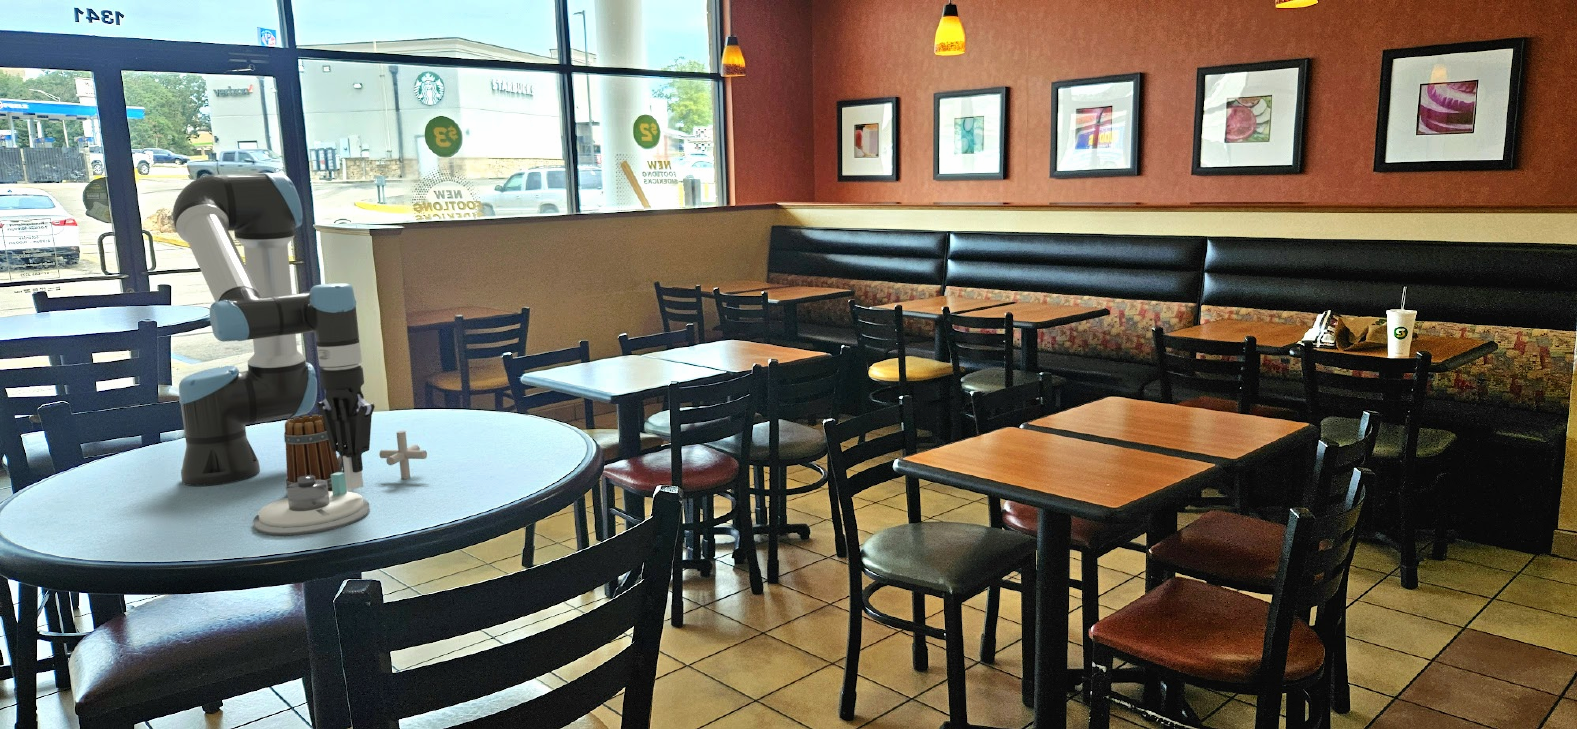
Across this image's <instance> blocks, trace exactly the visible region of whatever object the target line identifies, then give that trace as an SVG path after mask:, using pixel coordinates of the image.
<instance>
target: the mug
mask: <svg viewBox="0 0 1577 729" xmlns="http://www.w3.org/2000/svg"><path fill="white" fill-rule="evenodd" d="M283 437H284V438H283V439H284V443H285V456H286V457H285V458H286V461H285V462H286V482H285V483H286V487H287V486H289V485H291V484H293V483H296V482H298V480H297V478H298V477H300V476H304V475H314V476H315V480H325V481H327V484H328V491H332V483H331V474H334V473H337V472H341V473H345V472H344V471H343V467H342V459H341V455H339V454H338V456H337V451H335V452H334V451H332V449H331V445H330V442H329V438H328V435H327V431H326V428H325V424H324V421H323V418H322V414H321V415H320V414H313V415H311V416H310V415H301V417H300V416H295V417H293V418H288V419H286V421H285V423H284V434H283Z"/></svg>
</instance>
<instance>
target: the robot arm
mask: <svg viewBox="0 0 1577 729" xmlns="http://www.w3.org/2000/svg"><path fill="white" fill-rule="evenodd" d="M303 217H304V216H303V206H302V203H301V199H300V196H299V193H298V191H297V188H296V187H295V184H294V183H293V181H292V180H291V179H290V177H288V176H287V175H285V174H283V173H277V172H276V173H273V172H272V173H271V172H256V173H255V172H254V173H233V174H208V175H204V176H201V177H198V178H196V179H194V180H192V181H191V182H190V183H189V184H187V185H186V186H185V187H184V188H183V189H182V190H181V192H179V194H178V195H177V198H176V199H175V202H174V204H173V208H172V222H173V225H174V229H175V230H176V233H177V234H178V236H179V237H180V238H181V240H183V241H184V242H186V243H188V245H189V248H190V250H191V252H192V254H193V256H194V258H195V261H196V263H197V265H198V267H199V269H200V271H201V274H202V276H203V278H204V280H205V282H206V283H205V284H206V285H207V287H208V289H209V291H210V294H211V296H212V297H213V300H214V302H213V303H211V305H210V306H209V321H210V323H209V324H210V326H211V329H212V334H213V336H214V337H215V338H216V339H217V341H220V342H223V343H224V342H235V341H237V342H244V341H250V340H252V341H253V342H252V343H253V352H254V353H253V355H252V356H251V357H250V358H249V359H248V360H247V368H248V369H247V370H243V371H240V370H239V369H238V367H237V366H235V365H225V366H221V367H220V366H218V367H212V368H207V369H203V370H201V371H197V372H194V373H191V374H189V375H187V376H185V377H183V378H182V379H181V380H180V382H179V384H178V394H179V399H178V401H179V402H178V403H179V404H180V408H181V409H180V410H181V417H182V423H183V431H184V438H185V444H186V446H185V452H184V457H183V461H182V462H183V463H182V467H181V470H180V477H181V482H182V484H183V485H186V486H196V487H197V486H199V487H201V486H203V487H204V486H213V485H214V486H215V485H223V484H228V483H234V482H238V481H242V480H245V479H249V478H251V477H254V476H255V475H257V474H259V473H260V471H261V468H260V461H259V459H258V457H257V455H256V453H255V451H254V449H253V447H252V445H251V443H250V442H249V440H248V436H247V430H246V425H251V424H258V423H264V422H270V421H277V420H282V419H283V420H284V419H293V418H295V417H300V416H305V415H307V414H308V413H310V412H312V410H313V408H314V406H315V404H316V407H317V409H318V411H319V412H320V414H321V415H322V418H323V421H324V424H325V428H326V431H327V435H328V438H329V442H330V445H331V449H332V451H334V452H335V451H336V453H338V456H339V455H341V459H342V469H343V471H344V472H345V481H346V489H347V491H354V490H357V489H360V488H363V487H364V478H363V470H364V468H363V459H362V458H363V457H362V455H363V454H364V453H366V452H369V451H370V447H371V446H370V445H371V429H372V415H373V412H374V410H375V404H374V403H373V402H371V403H368V402H367V401H366V400H365V398H364V394H363V391H362V386H363V385H364V384H365V376H364V369H363V366H362V365H361V363H362V362H363V357H362V349H361V342H360V333H359V332H360V331H359V326H358V316H357V315H358V314H357V313H358V312H357V300H356V296H355V292H354V288H353V286H352V285H351V284H349V283H345V282H344V283H340V282H338V283H337V282H335V283H333V282H332V283H323V284H322V283H321V284H317V285H316V284H315V285H313V286H312V287H311V288H310V290H309V291H304V292H301V293H296V294H295V293H293V292H292V290H293V288H292V281H291V280H292V279H291V268H290V258H289V245H288V244H290V242H291V241H292V240H293V239H294V238H295V229H297V228H299V227H301V226H302V224H303ZM231 231H233V233H234V239H235V240H236V241H237V242H239V243H240V244H241V245H242V246H243V251H244V252H243V253H244V260H243V258H242V256H241V254H240V252H239V249H238V248H237V246H236V244H235V242H234V240H233V238H232V236H231V233H230V232H231ZM307 333H308V334H309V333H314V336H315V343H316V351H317V358H318V359H317V361H318V366H319V367H320V368H321V369H320V370H319V378H320V387H321V389H322V390H325V396H324V397H325V398H324V399H323V400H322V401H318V402H316V400H317V393H318V379H317V377H316V374H317V373H316V371H315V368H314V366H313V365H312V364H311V363H310V362H307V361H306V356H305V355H303V353H300V352H299V351H298V345H297V335H298V334H307Z"/></svg>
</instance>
